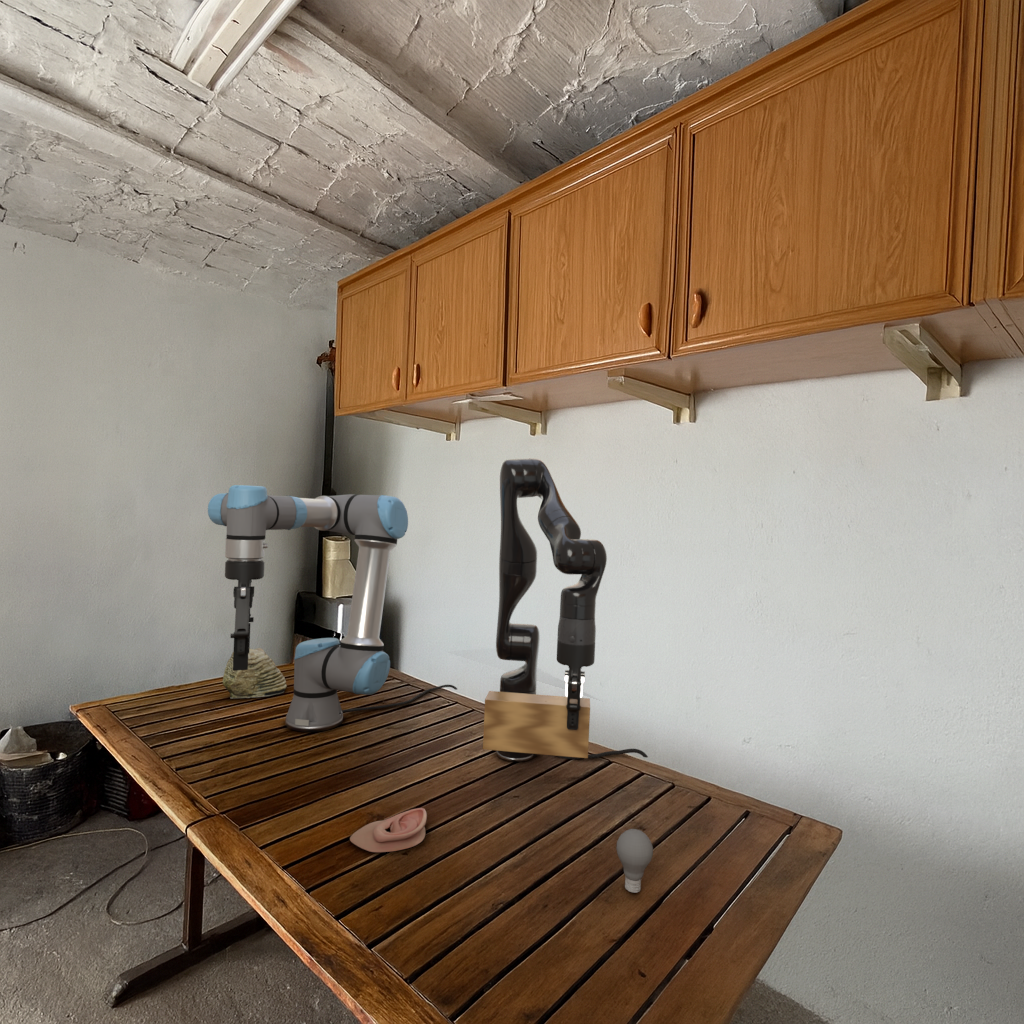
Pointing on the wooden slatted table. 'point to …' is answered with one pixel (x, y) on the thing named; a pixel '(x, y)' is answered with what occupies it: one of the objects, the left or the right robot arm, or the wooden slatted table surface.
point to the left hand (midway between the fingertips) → (241, 661)
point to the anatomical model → (392, 832)
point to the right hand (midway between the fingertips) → (572, 723)
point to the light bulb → (634, 857)
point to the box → (534, 724)
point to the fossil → (254, 677)
